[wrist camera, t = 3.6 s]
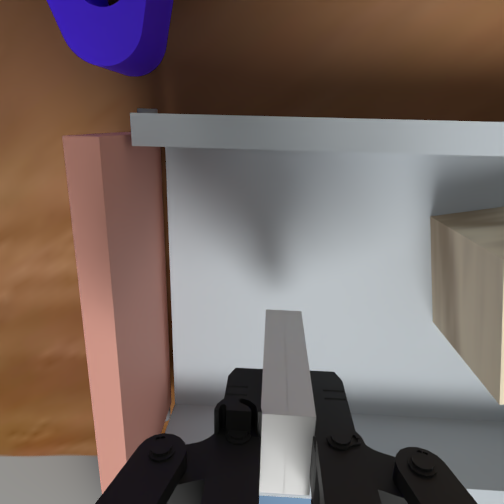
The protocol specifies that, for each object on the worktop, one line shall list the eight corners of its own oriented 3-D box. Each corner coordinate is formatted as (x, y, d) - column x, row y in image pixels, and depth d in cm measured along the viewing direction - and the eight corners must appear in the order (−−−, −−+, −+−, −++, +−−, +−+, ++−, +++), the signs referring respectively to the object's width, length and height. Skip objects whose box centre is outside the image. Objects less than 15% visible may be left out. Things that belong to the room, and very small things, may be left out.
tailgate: (93, 518, 18) (131, 520, 18) (46, 135, 13) (98, 136, 13) (144, 401, 26) (171, 402, 26) (127, 131, 21) (160, 132, 21)
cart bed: (164, 392, 28) (124, 491, 21) (151, 110, 23) (89, 103, 15) (525, 411, 27) (622, 522, 20) (603, 121, 22) (780, 119, 14)
